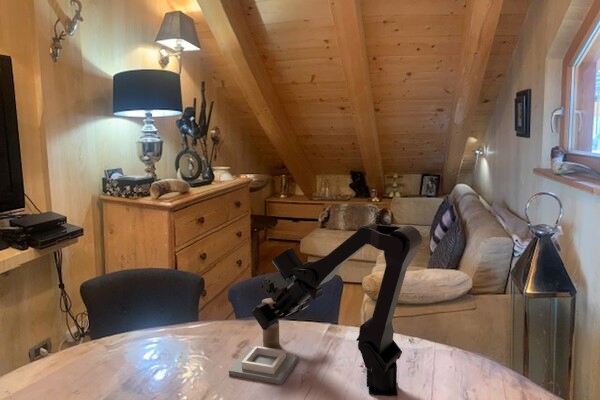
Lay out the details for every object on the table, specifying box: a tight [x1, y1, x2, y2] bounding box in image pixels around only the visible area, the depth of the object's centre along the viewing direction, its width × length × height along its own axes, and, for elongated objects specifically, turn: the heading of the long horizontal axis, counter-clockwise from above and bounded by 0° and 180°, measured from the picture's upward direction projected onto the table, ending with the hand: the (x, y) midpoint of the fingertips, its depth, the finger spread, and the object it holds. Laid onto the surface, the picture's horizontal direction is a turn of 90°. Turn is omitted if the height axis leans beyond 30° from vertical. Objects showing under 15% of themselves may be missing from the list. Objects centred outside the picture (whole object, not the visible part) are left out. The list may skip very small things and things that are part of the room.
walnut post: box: [261, 297, 281, 349], centre depth 125 cm, size 5×5×13 cm
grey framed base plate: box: [228, 345, 299, 385], centre depth 114 cm, size 14×12×3 cm
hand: (267, 321), depth 126 cm, fingers closed on walnut post, 5 cm apart
